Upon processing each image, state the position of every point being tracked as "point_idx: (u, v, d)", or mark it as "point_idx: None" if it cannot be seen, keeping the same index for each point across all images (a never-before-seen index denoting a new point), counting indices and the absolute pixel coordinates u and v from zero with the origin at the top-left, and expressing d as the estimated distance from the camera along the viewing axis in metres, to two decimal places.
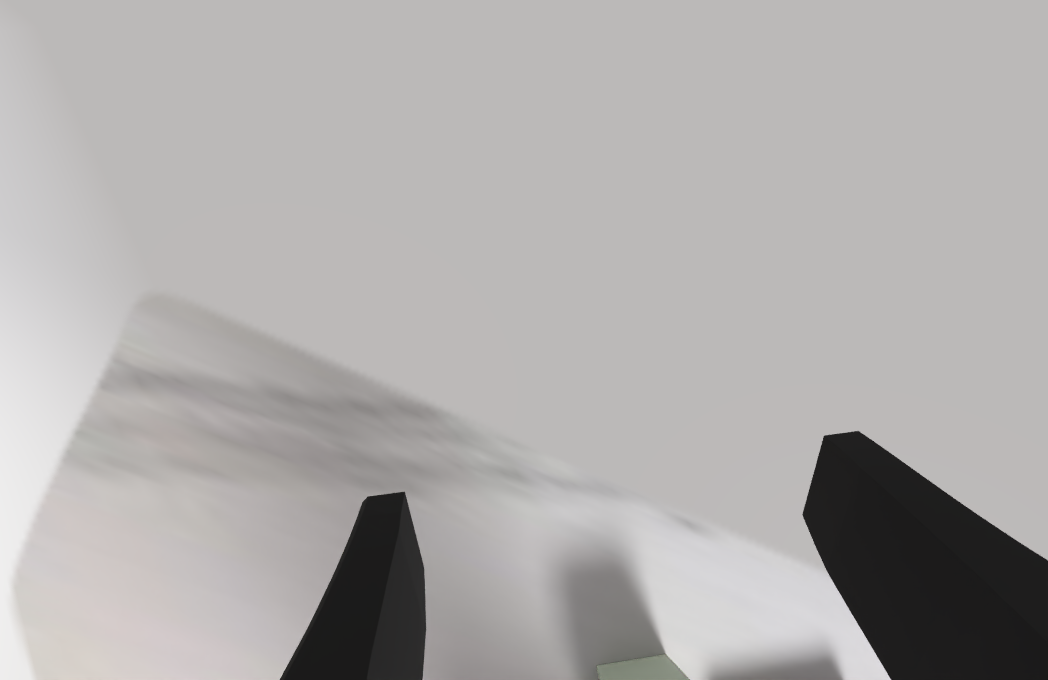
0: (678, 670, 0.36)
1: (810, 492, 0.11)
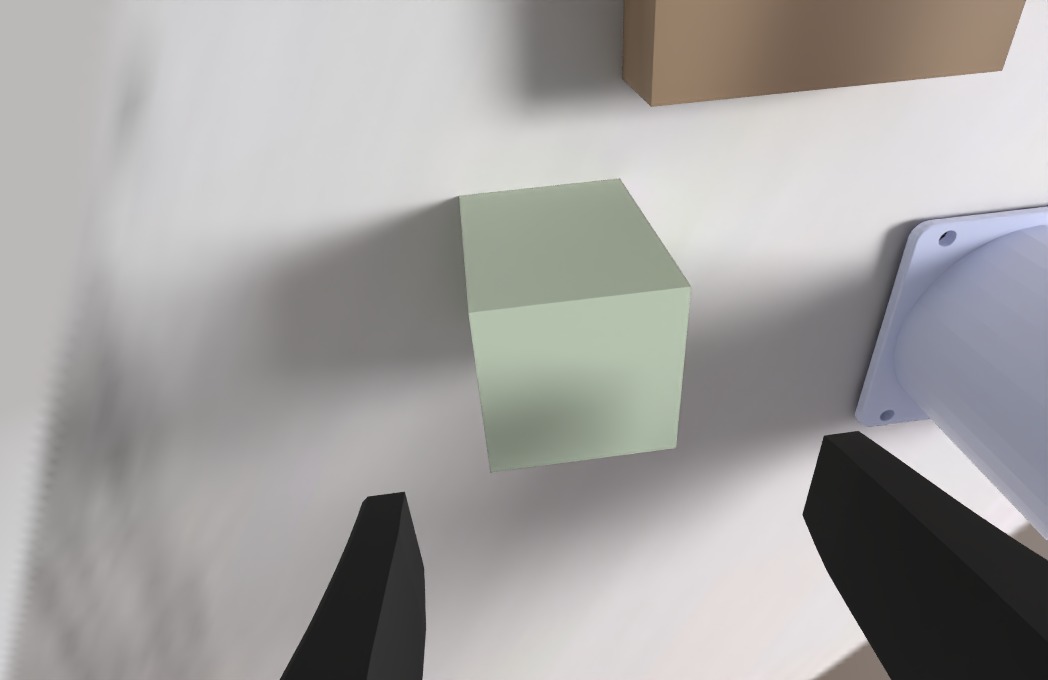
0: None
1: (810, 492, 0.11)
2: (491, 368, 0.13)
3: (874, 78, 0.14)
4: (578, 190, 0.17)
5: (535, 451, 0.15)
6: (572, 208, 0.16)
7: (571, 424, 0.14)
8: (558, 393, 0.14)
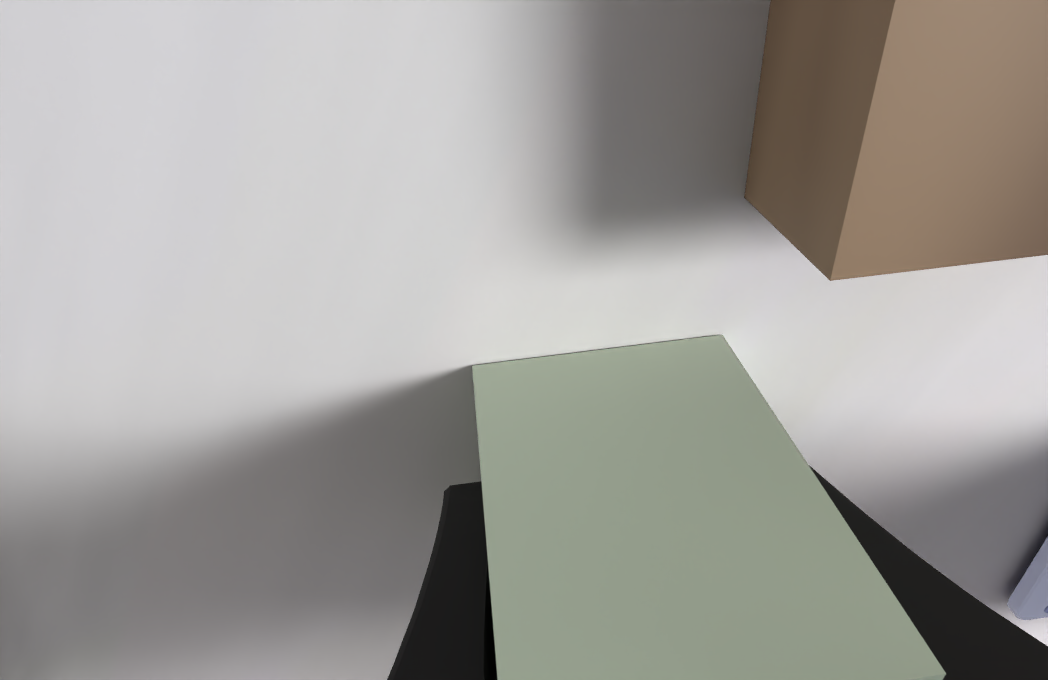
0: (488, 559, 0.08)
1: None
2: None
3: None
4: (662, 360, 0.11)
5: None
6: (660, 408, 0.10)
7: None
8: None
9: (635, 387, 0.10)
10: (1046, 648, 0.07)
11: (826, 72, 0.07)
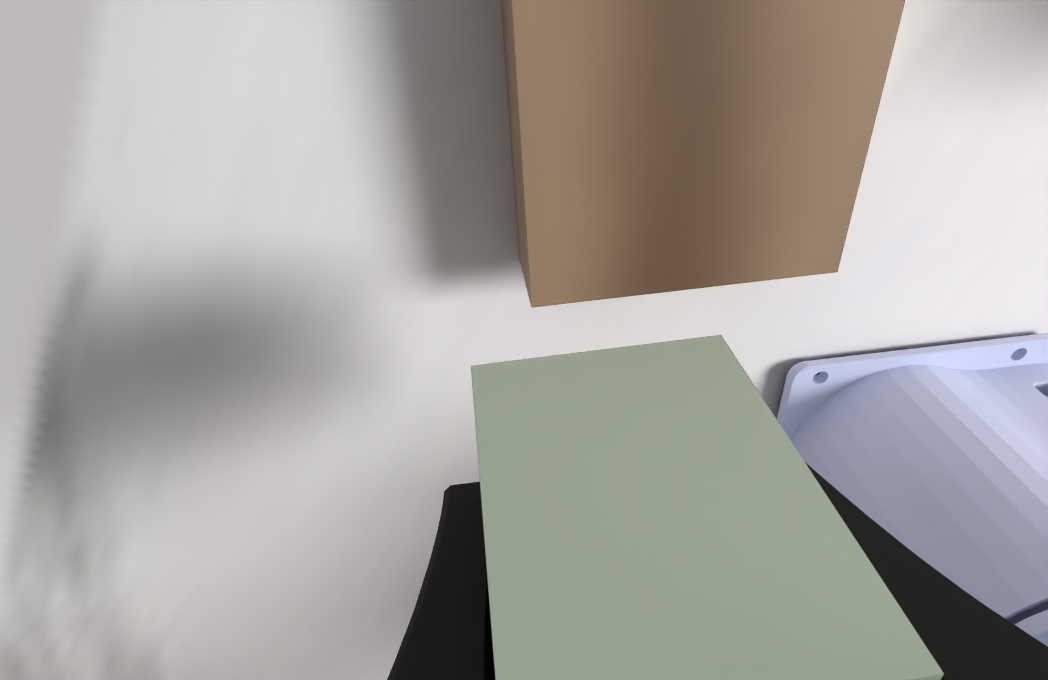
0: (486, 559, 0.08)
1: None
2: None
3: (725, 281, 0.16)
4: (660, 360, 0.11)
5: None
6: (658, 408, 0.10)
7: None
8: None
9: (634, 387, 0.10)
10: (1046, 648, 0.07)
11: (521, 212, 0.16)
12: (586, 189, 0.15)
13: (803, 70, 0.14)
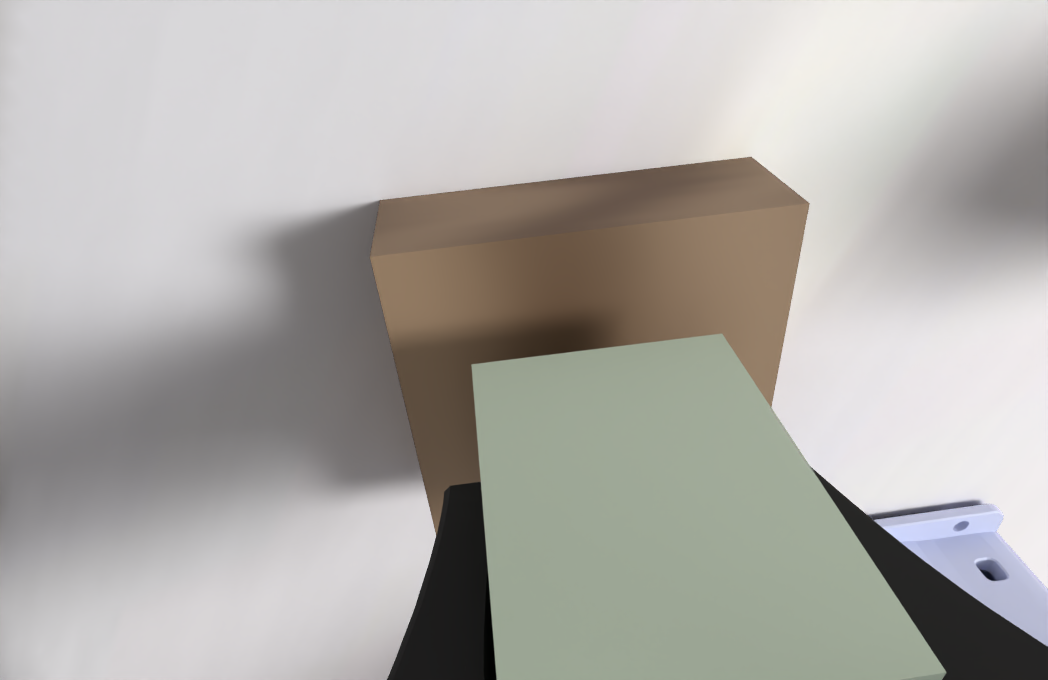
0: (487, 557, 0.08)
1: None
2: None
3: None
4: (662, 360, 0.11)
5: None
6: (659, 406, 0.10)
7: None
8: None
9: (635, 386, 0.10)
10: (1046, 648, 0.07)
11: None
12: None
13: None
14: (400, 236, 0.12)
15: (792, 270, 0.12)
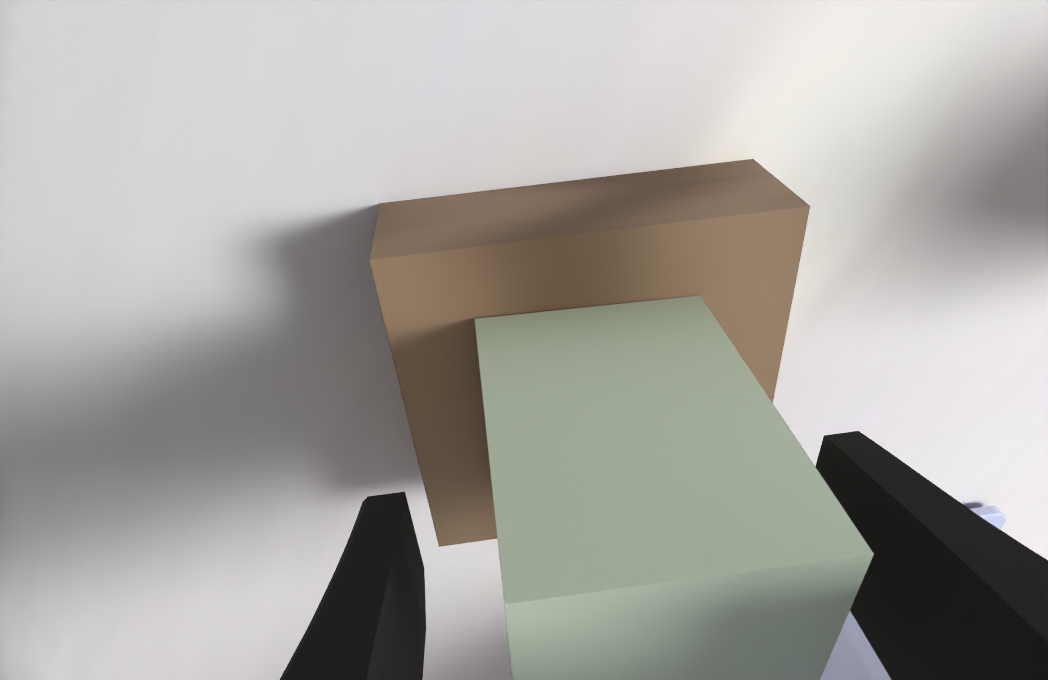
0: None
1: None
2: (535, 665, 0.08)
3: None
4: (645, 316, 0.12)
5: None
6: (642, 354, 0.11)
7: None
8: None
9: (621, 337, 0.11)
10: None
11: None
12: (482, 453, 0.14)
13: None
14: (400, 239, 0.12)
15: (792, 273, 0.12)
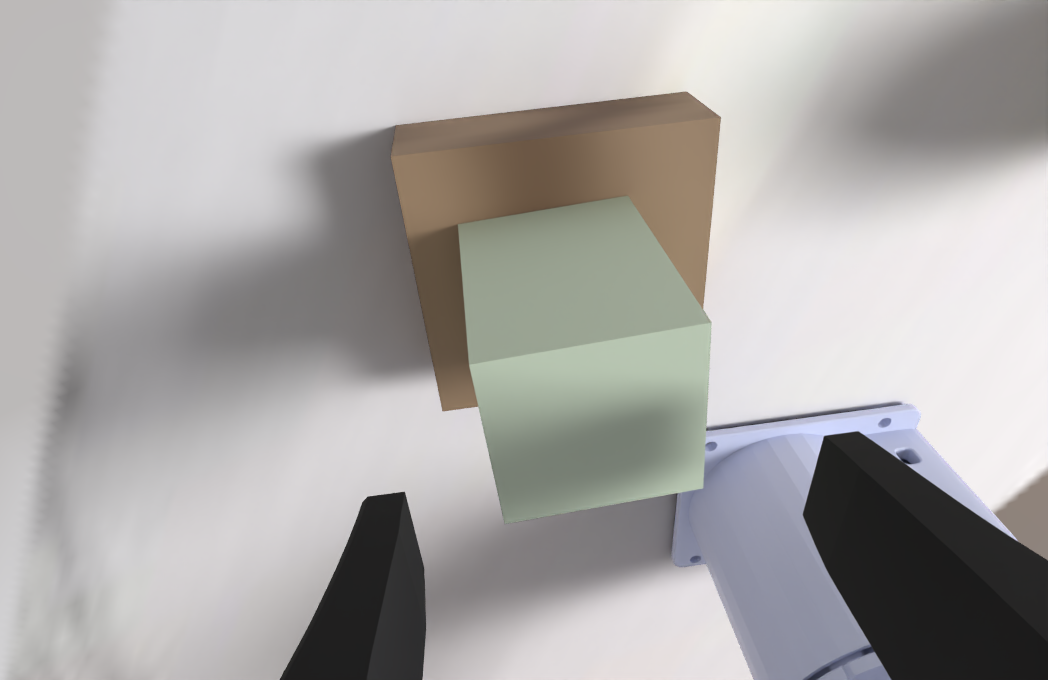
0: (465, 307, 0.13)
1: (810, 492, 0.11)
2: (498, 420, 0.12)
3: None
4: (584, 212, 0.16)
5: (551, 500, 0.14)
6: (578, 233, 0.15)
7: (589, 470, 0.13)
8: (573, 440, 0.13)
9: (564, 225, 0.15)
10: None
11: None
12: None
13: None
14: (412, 144, 0.16)
15: (712, 172, 0.16)
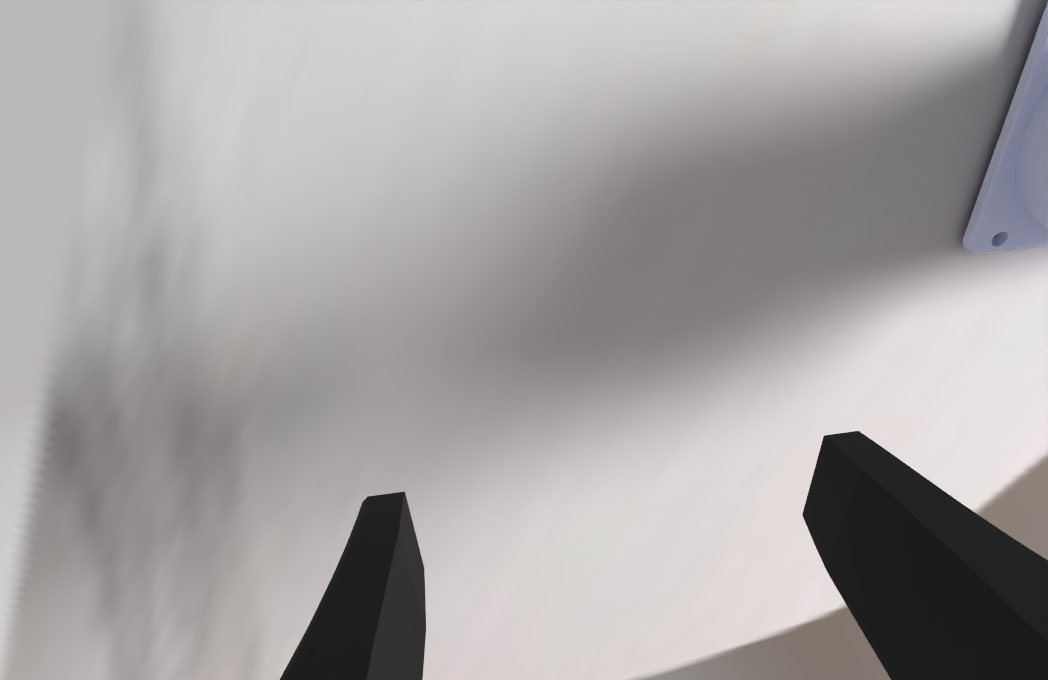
0: None
1: (810, 492, 0.11)
2: None
3: None
4: None
5: None
6: None
7: None
8: None
9: None
10: None
11: None
12: None
13: None
14: None
15: None
